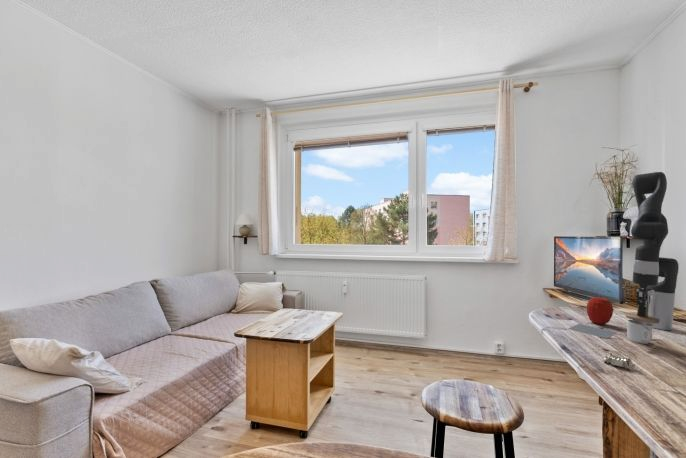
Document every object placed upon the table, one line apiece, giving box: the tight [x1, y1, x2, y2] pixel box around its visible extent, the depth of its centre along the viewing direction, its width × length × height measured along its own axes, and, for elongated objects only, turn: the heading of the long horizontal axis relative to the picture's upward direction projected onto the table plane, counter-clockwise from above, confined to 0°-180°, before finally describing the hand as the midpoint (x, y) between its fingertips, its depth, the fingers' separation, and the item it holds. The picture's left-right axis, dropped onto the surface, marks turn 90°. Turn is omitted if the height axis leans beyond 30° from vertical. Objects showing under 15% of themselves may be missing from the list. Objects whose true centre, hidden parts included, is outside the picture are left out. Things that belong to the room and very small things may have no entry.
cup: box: [626, 319, 654, 345], centre depth 134 cm, size 11×8×8 cm
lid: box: [625, 304, 660, 323], centre depth 134 cm, size 10×10×6 cm
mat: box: [567, 323, 618, 340], centre depth 146 cm, size 15×14×1 cm
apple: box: [586, 294, 615, 326], centre depth 159 cm, size 10×10×14 cm
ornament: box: [602, 352, 636, 371], centre depth 110 cm, size 8×7×4 cm
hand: (642, 315), depth 134 cm, fingers closed on lid, 3 cm apart
